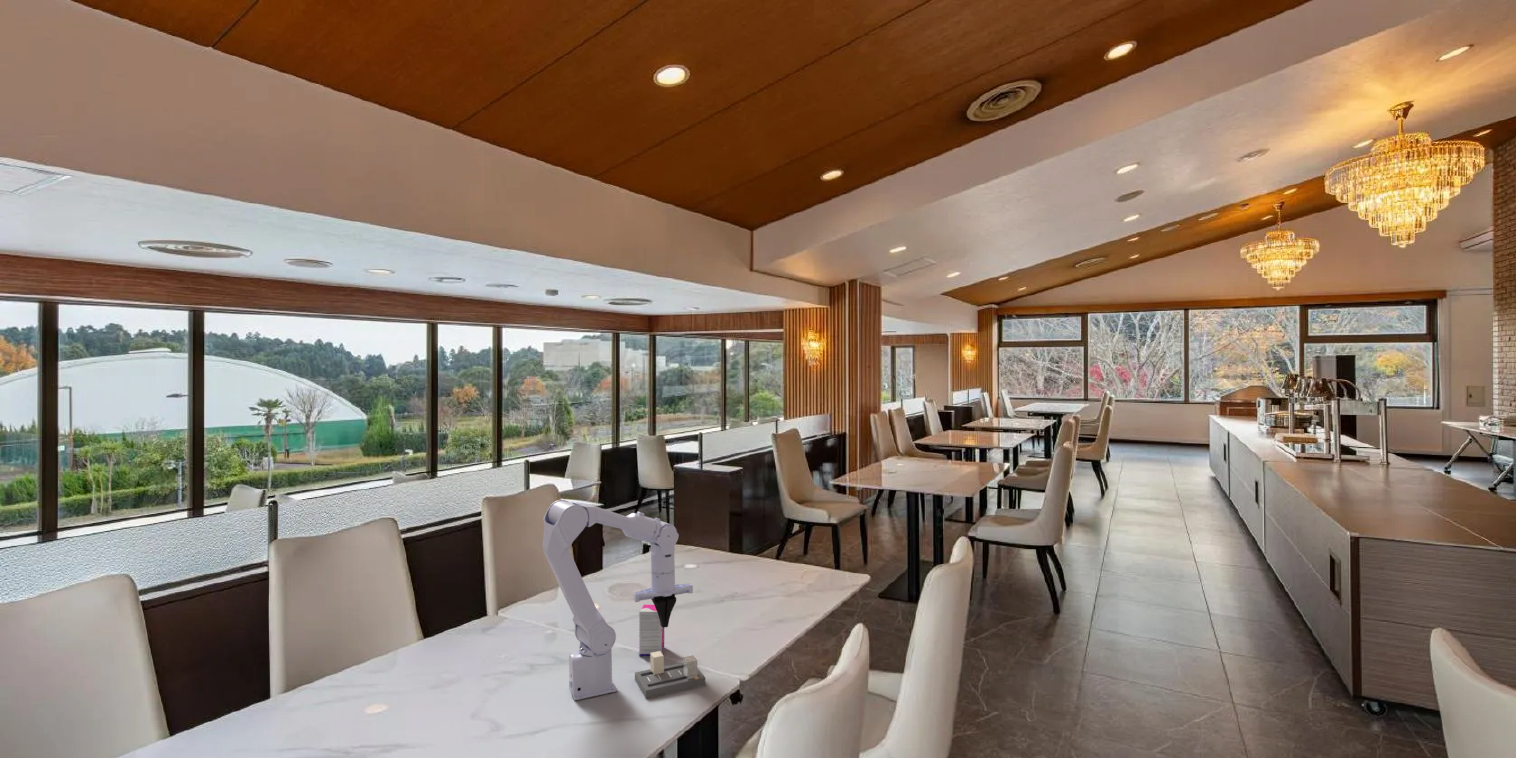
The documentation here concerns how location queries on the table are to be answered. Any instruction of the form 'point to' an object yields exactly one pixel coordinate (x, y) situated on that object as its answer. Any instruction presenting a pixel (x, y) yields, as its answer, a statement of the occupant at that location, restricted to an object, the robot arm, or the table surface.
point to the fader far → (657, 662)
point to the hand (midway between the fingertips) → (664, 626)
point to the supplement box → (650, 631)
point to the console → (666, 681)
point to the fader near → (690, 667)
